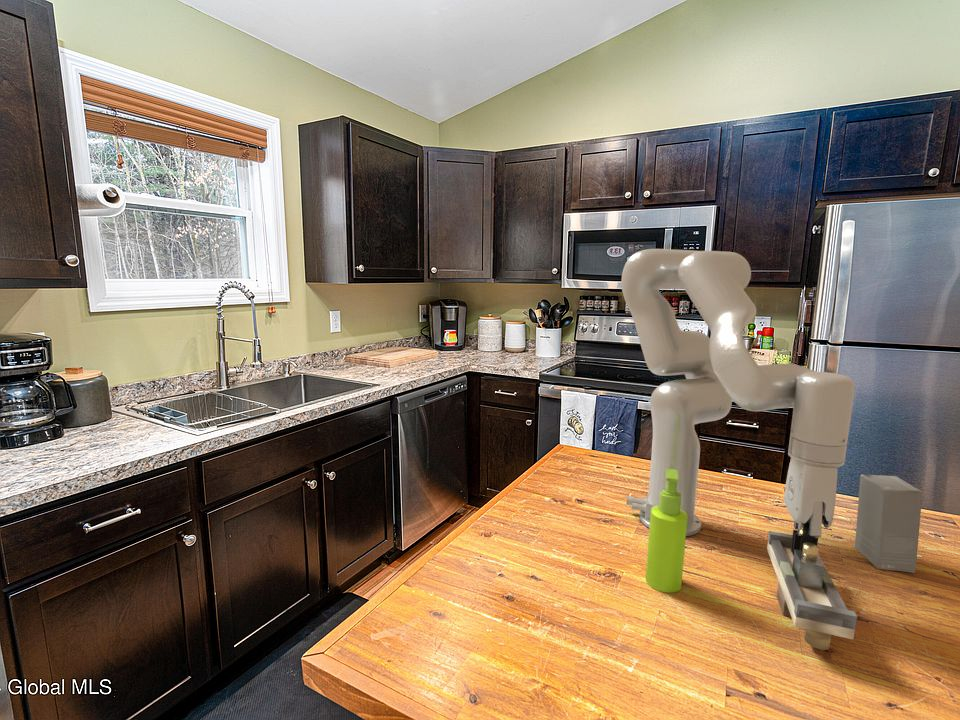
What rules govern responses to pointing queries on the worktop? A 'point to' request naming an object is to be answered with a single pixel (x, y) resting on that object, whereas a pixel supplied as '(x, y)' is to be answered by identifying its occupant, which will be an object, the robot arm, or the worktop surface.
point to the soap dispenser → (667, 539)
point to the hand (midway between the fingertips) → (802, 555)
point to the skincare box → (888, 522)
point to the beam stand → (809, 599)
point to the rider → (808, 567)
